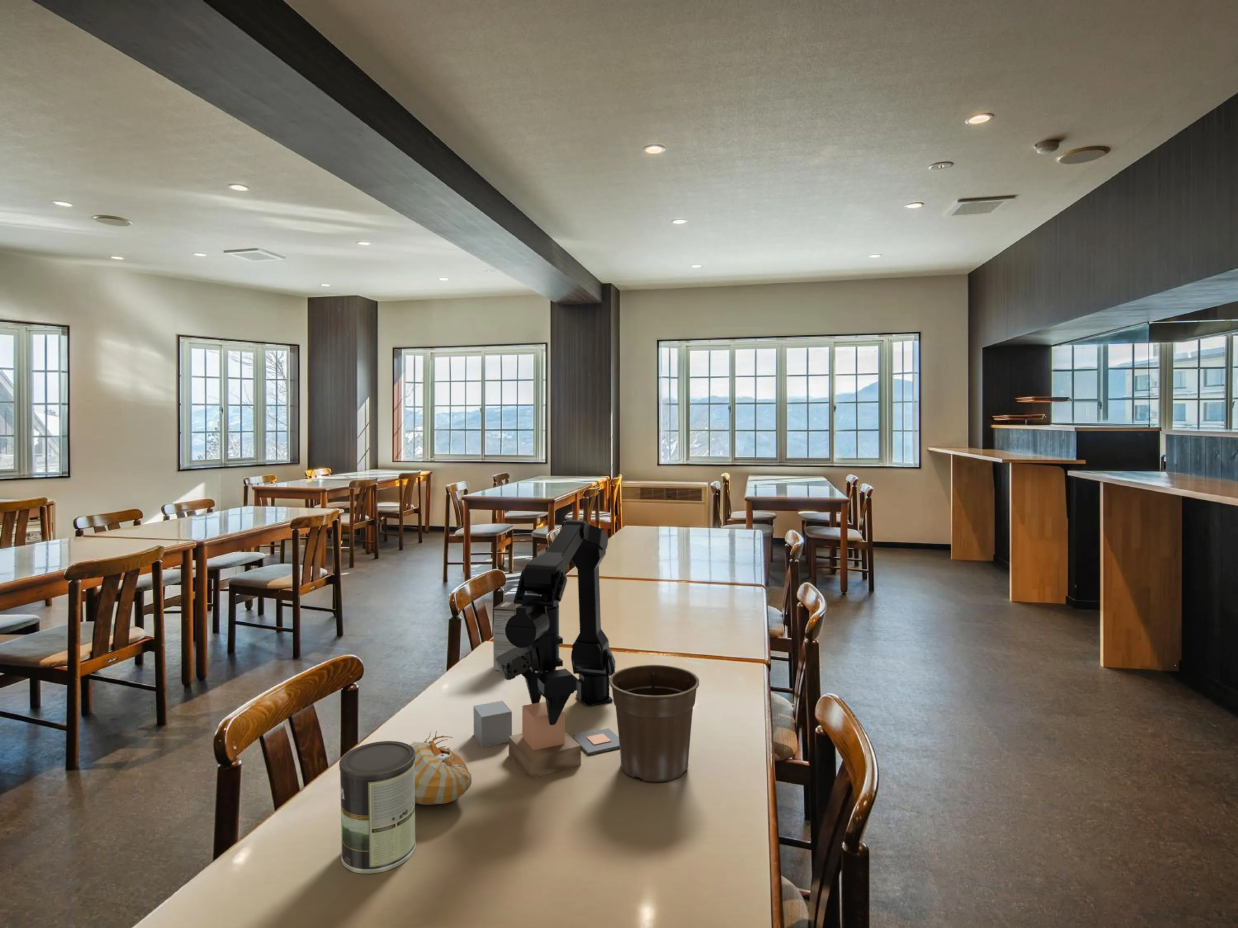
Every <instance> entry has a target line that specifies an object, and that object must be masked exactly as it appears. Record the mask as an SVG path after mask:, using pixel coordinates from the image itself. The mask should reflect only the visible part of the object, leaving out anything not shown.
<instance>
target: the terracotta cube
mask: <svg viewBox="0 0 1238 928" xmlns="http://www.w3.org/2000/svg"><path fill="white" fill-rule="evenodd" d="M521 708H522V709H521V711H522V712H521V714H522V716H521V717H522V719H521V720H522V726H521V727H522V731H521V732H522V738H523V739H524V740H525V741H526V742H527V744H528V745H529V746H530V747H531V748H532V749H533V751H534V750H538V749H543V748H548V747H552V746H557V745H562V744H565V732H566V731H565V730H566V729H565V727H566V726H565V719H566V718H565V716H566V715H565V713H566V712H565V710H564V709H563V710H562V712H561V714H560V716H559V718H558V720H557V722H556V724H555V725H550V724H549V720H548V713H547V706H546V701H541V702H539V703H535V704H532V703H530V704H524V705H522V707H521Z"/></svg>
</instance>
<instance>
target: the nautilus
mask: <svg viewBox="0 0 1238 928" xmlns="http://www.w3.org/2000/svg"><path fill="white" fill-rule="evenodd" d="M431 733H432V732H431V731H430V732H429V734H431ZM437 733H438V730H436V731H435V735H434V737H433V738H432V740H429V739H430V737H431V735H429V736H428V737H427V738H426V739H425V740H424V741H423V742H417V741H413V742H412V743H411V744H409V745H410V746H412V747H413V748H414V750H415V760H414V774H415V804H418V805H419V804H420V805H424V806H425V805H427V806H432V805H441V804H442V805H443V804H448V803H451V802H454V801H456V800H458V799H459V798H460V797H461V796H463V795H464V794H465V793H466V792H467V791H468V790H469V789H470V787H471V785H472V773H470V771H469V769H468V766H467V765H466V763H465V761H464V760H463V759H462V757H461V756H460V755H458V754H456V753H455V752H453V750H451V747H447V745H444V746H443V745H442V746H439V747H437V746H436V745H437V744H438V745H439V743H441V742H444V741H448V739H442V738H448V736H445V735H441V736H437ZM449 738H451V739H453V738H454V737H452V736H449ZM438 739H441V740H439V741H437V742H436V743H435V741H436V740H438ZM428 740H429V741H428ZM446 747H447V748H446Z"/></svg>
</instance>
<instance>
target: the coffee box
mask: <svg viewBox="0 0 1238 928" xmlns="http://www.w3.org/2000/svg"><path fill="white" fill-rule="evenodd" d="M518 606H522V604H514V599H513V600H512V599H511V600H510V599H505V600H503V601H502V602H500V603H499V604H498V605H496V606H494V607H493V608H492V639H493V641H492V643H493V649H492V650H493V671H497V672H498V671H499V672H500V669H499V667H498V664H497V661H496V658H497V657H498V656H499V655H501V654H503V653H505V652H507V651H509V650H511V649H513V648H515V647H516V646H514V645H512V644H511V643H510V642H509V640H508V639H507V637H506V634H505V626H506V624H507V622H508V620H509V619H510V618H511V617H512V616H514V615H515V614H516V607H518Z"/></svg>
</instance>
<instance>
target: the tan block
mask: <svg viewBox="0 0 1238 928" xmlns="http://www.w3.org/2000/svg"><path fill="white" fill-rule="evenodd" d="M581 756H582V748H581V745H580V744H579V743H577V742H576V741H575V740H574V739H573V738H572V735H571V736H570V735H569V734H568V733H567V732H566V731H565V744H562V745H557V746H552V747H548V748H543V749H538V750H534V751H533V749H532V748H531V747H530V746H529V745H528V744H527V742H526V741H525V740H524V739H523V738H522V733H517V734H512V736H509V742H508V757H510V758H511V760H513V762H514V763H515V764H516V765H517V766H518V767H519V769H521V771H522V772H523V771H524V774H525V775H526V776H527V777H528V778H529V779H533V778H537V777H540V776H541V777H542V776H544V775H547V774H552V773H556V772H558V771H562V770H567V769H570V768H574V767H577V766H581V765H582V757H581Z"/></svg>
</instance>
